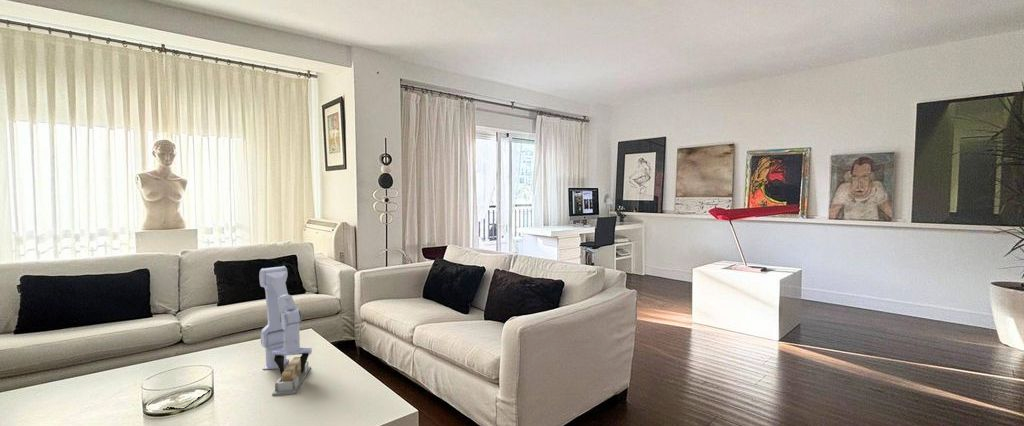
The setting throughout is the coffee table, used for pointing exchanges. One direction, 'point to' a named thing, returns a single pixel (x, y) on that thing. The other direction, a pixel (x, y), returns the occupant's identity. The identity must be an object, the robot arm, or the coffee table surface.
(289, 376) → the oak slat
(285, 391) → the end cap cradle
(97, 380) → the coffee table surface
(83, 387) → the coffee table surface
